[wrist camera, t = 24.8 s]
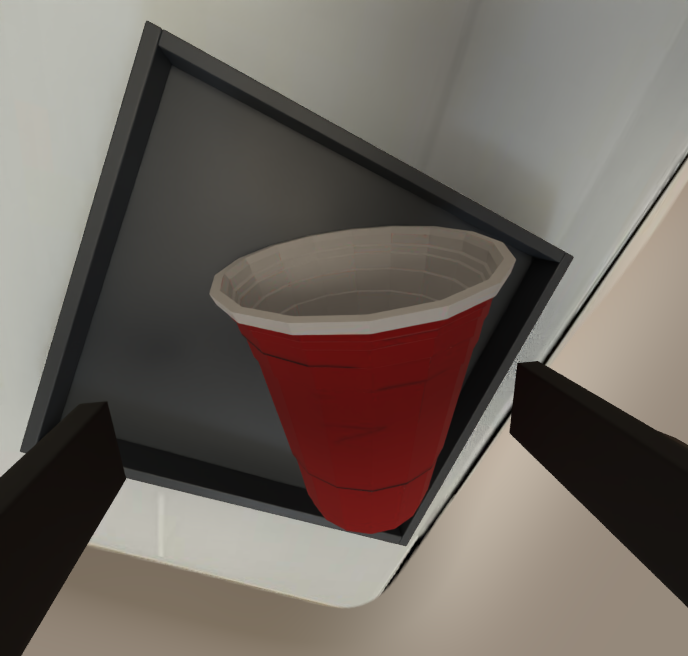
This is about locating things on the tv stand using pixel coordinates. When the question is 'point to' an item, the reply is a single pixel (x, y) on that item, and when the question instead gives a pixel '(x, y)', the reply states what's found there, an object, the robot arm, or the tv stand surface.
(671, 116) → the tv stand surface
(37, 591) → the robot arm
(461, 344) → the plastic cup
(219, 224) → the tray
